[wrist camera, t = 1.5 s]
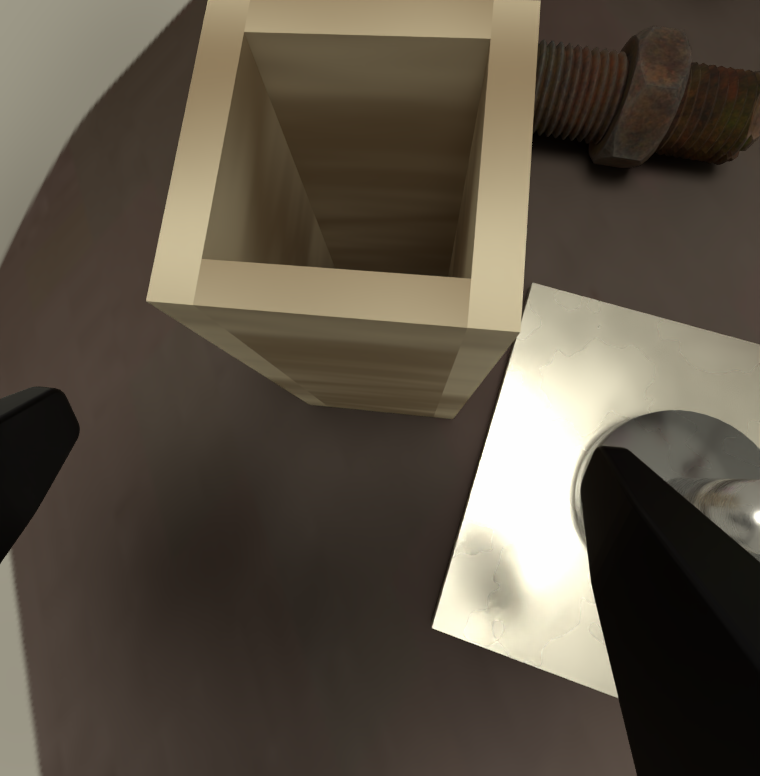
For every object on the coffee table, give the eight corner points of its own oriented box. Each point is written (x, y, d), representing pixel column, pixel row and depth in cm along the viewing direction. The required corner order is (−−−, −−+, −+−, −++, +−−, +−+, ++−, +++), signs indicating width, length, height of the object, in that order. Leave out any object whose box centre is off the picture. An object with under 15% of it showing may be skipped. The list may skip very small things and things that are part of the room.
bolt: (688, 195, 22) (379, 143, 23) (734, 71, 20) (397, 21, 21) (769, 184, 16) (358, 117, 17) (841, 13, 15) (380, -50, 16)
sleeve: (453, 419, 19) (520, 331, 7) (309, 404, 19) (146, 301, 8) (464, 280, 20) (540, 0, 8) (327, 270, 20) (209, -6, 9)
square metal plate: (823, 769, 16) (1044, 930, 10) (431, 622, 17) (439, 692, 12) (886, 386, 18) (1097, 348, 12) (528, 288, 19) (574, 216, 14)
